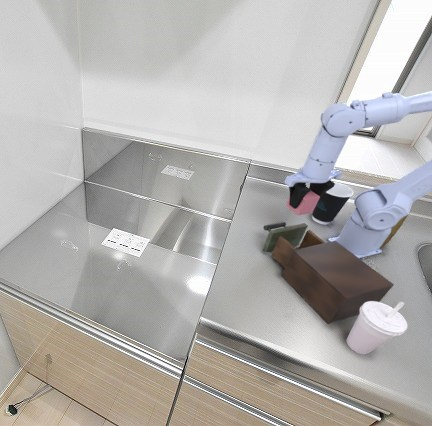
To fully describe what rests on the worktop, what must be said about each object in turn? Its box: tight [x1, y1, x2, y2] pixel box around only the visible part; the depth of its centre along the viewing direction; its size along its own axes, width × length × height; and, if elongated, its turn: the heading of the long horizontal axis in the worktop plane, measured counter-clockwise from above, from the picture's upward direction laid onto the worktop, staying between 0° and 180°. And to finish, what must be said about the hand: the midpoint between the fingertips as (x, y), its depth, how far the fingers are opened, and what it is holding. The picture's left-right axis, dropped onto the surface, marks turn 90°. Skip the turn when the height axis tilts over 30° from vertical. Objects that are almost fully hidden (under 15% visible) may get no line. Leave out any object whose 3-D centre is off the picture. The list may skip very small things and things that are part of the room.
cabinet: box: [281, 241, 395, 325], centre depth 64 cm, size 14×12×9 cm
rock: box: [380, 211, 411, 249], centre depth 80 cm, size 11×9×10 cm
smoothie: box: [345, 301, 408, 356], centre depth 53 cm, size 6×6×14 cm
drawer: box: [262, 220, 327, 269], centre depth 73 cm, size 17×10×7 cm, turn 15°
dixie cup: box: [311, 181, 355, 225], centre depth 85 cm, size 8×8×11 cm
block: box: [285, 191, 320, 216], centre depth 76 cm, size 4×4×5 cm
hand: (301, 204), depth 77 cm, fingers closed on block, 4 cm apart
